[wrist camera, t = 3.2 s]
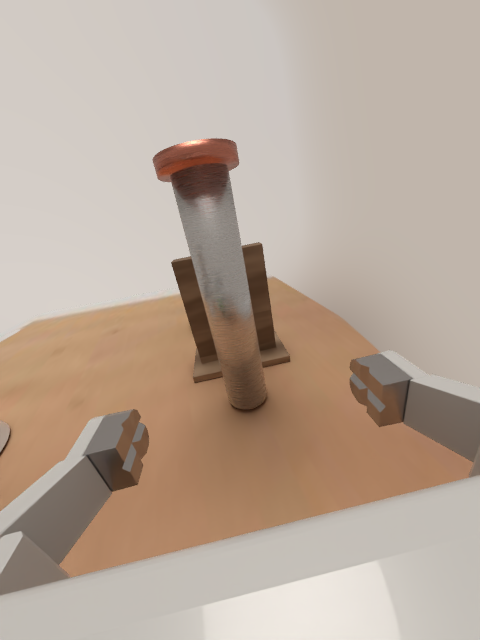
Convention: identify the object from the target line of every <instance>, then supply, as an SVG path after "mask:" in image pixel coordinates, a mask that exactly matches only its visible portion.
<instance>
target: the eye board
mask: <svg viewBox="0 0 480 640" xmlns="http://www.w3.org/2000/svg"><path fill="white" fill-rule="evenodd" d="M242 252H243V257H244V263H245V269H246V275H247V281H248V286H249V292H250V298H251V304H252V309H253V315H254V321H255V327H256V332H257V338H258V344H259V350H260V356H261V361H262V367H266V366H271V365H275V364H280V363H284V362H288V361H290V356H289V354H288V352H287V351H286V349H285V347H284V345H283V344H282V342H281V340H280V339H279V337H278V335H277V334H276V332H275V331H274V327H273V320H272V313H271V305H270V298H269V291H268V284H267V276H266V269H265V262H264V255H263V247H262V244H261V243H259V242H258V243H254V244H249V245H244V246H242ZM171 263H172V267H173V270H174V273H175V276H176V280H177V283H178V287H179V290H180V293H181V297H182V300H183V303H184V307H185V310H186V313H187V316H188V320H189V323H190V326H191V330H192V333H193V336H194V339H195V343H196V346H197V348H196V356H195V365H194V373H193V379H194V382H200V381H204V380H209V379H213V378H218V377H222V376H223V375H222V371H221V367H220V364H219V360H218V356H217V352H216V349H215V345H214V341H213V337H212V334H211V330H210V326H209V322H208V318H207V315H206V311H205V307H204V303H203V300H202V296H201V292H200V288H199V285H198V281H197V277H196V273H195V269H194V266H193V262H192V258H191V256H190V257H186V258H181V259H176V260H173V261H172V262H171Z"/></svg>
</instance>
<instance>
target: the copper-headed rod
mask: <svg viewBox="0 0 480 640" xmlns="http://www.w3.org/2000/svg"><path fill="white" fill-rule="evenodd" d="M153 163H154V167H155V170H156V174H157V177H158V179H159V180H160V181H164V182H172V186H173V190H174V194H175V198H176V202H177V205H178V209H179V213H180V217H181V220H182V224H183V228H184V232H185V235H186V239H187V243H188V247H189V251H190V254H191V258H192V262H193V266H194V269H195V273H196V277H197V281H198V285H199V288H200V292H201V296H202V300H203V303H204V307H205V311H206V315H207V318H208V322H209V326H210V330H211V334H212V337H213V341H214V345H215V349H216V352H217V356H218V360H219V364H220V367H221V371H222V375H223V379H224V383H225V386H226V390H227V394H228V398H229V401H230V403H231V404H232V405H233V406H234V407H236V408H238V409H244V410H246V409H252V408H255V407H257V406H259V405H260V404H262V403H263V402H264V400H265V399H266V396H267V390H266V384H265V379H264V373H263V367H262V361H261V356H260V350H259V344H258V338H257V332H256V327H255V321H254V315H253V309H252V304H251V298H250V292H249V286H248V281H247V275H246V269H245V263H244V257H243V252H242V246H241V240H240V234H239V229H238V223H237V218H236V212H235V206H234V200H233V194H232V189H231V182H230V177H229V171H230V170H232V169H234V168H235V167H237V166H238V165H239V159H238V153H237V146H236V143H235V142H233V141H231V140H227V139H202V140H195V141H190V142H185V143H181V144H178V145H174V146H172V147H169V148H167V149H164V150H162V151H160V152H159V153H157V154H156V155H155V156H154V158H153Z"/></svg>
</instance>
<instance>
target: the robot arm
mask: <svg viewBox="0 0 480 640" xmlns="http://www.w3.org/2000/svg"><path fill="white" fill-rule="evenodd" d="M350 370H351V371H352V372H353V374H352V376H351V377H350V388H351V391H352V393H353V395H354V397H355V398H356V400H357V401H358V402H359V403H360V404H362V405H365V406H367V413H368V414H369V416H370V417H371V418H372V419H373V420H374V422H375V423H376V424H377V425H378V426H379V427H382V426H387V425H392V424H396V423H401V422H404V424H405V425H407V426H409V427H411V428H413V429H414V430H416V431H418V432H420V433H422V434H423V435H425V436H427V437H429V438H431V439H432V440H434V441H436V442H438V443H440V444H441V445H443V446H445V447H447V448H449V449H450V450H452V451H454V452H456V453H458V454H459V455H461V456H463V457H465V458H467V459H468V460H470V461H472V462H473V465H472V468H471V470H470V473H469V478H466V479H462V480H458V481H454V482H450V483H446V484H442V485H438V486H434V487H430V488H426V489H422V490H418V491H414V492H410V493H406V494H402V495H398V496H394V497H390V498H386V499H382V500H378V501H374V502H370V503H366V504H362V505H358V506H354V507H350V508H346V509H342V510H338V511H334V512H330V513H326V514H322V515H318V516H314V517H310V518H306V519H302V520H298V521H294V522H290V523H286V524H282V525H278V526H274V527H270V528H266V529H262V530H258V531H254V532H250V533H246V534H242V535H238V536H234V537H230V538H227V539H223V540H219V541H215V542H211V543H207V544H203V545H199V546H195V547H191V548H187V549H183V550H179V551H175V552H171V553H167V554H163V555H159V556H155V557H151V558H147V559H143V560H139V561H135V562H131V563H127V564H123V565H119V566H115V567H111V568H107V569H103V570H99V571H95V572H91V573H87V574H83V575H79V576H75V577H71V578H70V576H69V574H68V573H67V572H66V571H65V570H63V569H62V568H61V567H60V566H59V564H60V563H61V562H62V560H63V559H64V558H65V556H66V555H67V554H68V552H69V551H70V550H71V548H72V547H73V546H74V544H75V543H76V542H77V540H78V539H79V537H80V536H81V535H82V533H83V532H84V531H85V529H86V528H87V527H88V525H89V524H90V523H91V521H92V520H93V519H94V517H95V516H96V514H97V513H98V512H99V510H100V509H101V508H102V506H103V505H104V504H105V502H106V501H107V500H108V498H109V497H110V496H111V494H112V492H113V491H117V490H120V489H124V488H128V487H132V486H135V485H138V482H139V479H140V475H141V471H142V468H143V463H142V462H141V459H142V458H143V457H144V455H145V454H146V453H147V450H148V446H149V435H148V431H147V428H146V426H145V425H143V424H142V423H140V422H139V421H140V418H141V416H140V414H139V412H138V411H137V410H135V409H133V410H128V411H123V412H118V413H113V414H108V415H104V416H99V417H95V418H92V419H91V420H89V422H88V423H87V425H86V426H85V428H84V430H83V431H82V433H81V435H80V436H79V438H78V439H77V441H76V443H75V444H74V446H73V447H72V449H71V451H70V452H69V454H68V455H67V457H66V459H65V460H64V461H60V462H59V463H57V464H56V465H55V466H54V467H53V468H51V469H50V470H49V471H48V472H47V473H45V474H44V475H43V476H42V477H41V478H40V479H38V480H37V481H36V482H35V483H34V484H32V485H31V486H30V487H29V488H28V489H26V490H25V491H24V492H23V493H22V494H21V495H19V496H18V497H17V498H16V499H15V500H13V501H12V502H11V503H10V504H9V505H7V506H6V507H5V508H4V509H3V510H2V511H0V640H480V387H476V386H473V385H469V384H466V383H462V382H458V381H455V380H451V379H448V378H444V377H441V376H437V375H428V374H427V373H425V372H424V371H422V370H421V369H419V368H418V367H417V366H415V365H414V364H412V363H411V362H409V361H408V360H406V359H405V358H404V357H402V356H401V355H399V354H398V353H396V352H395V351H391V350H389V351H385V352H381V353H377V354H374V355H370V356H366V357H362V358H357V359H353V360H351V362H350ZM9 434H10V428H9V425H8V424H7V423H6V422H3V421H1V420H0V452H1V450H2V449H3V447H4V445H5V444H6V442H7V440H8V437H9Z"/></svg>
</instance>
